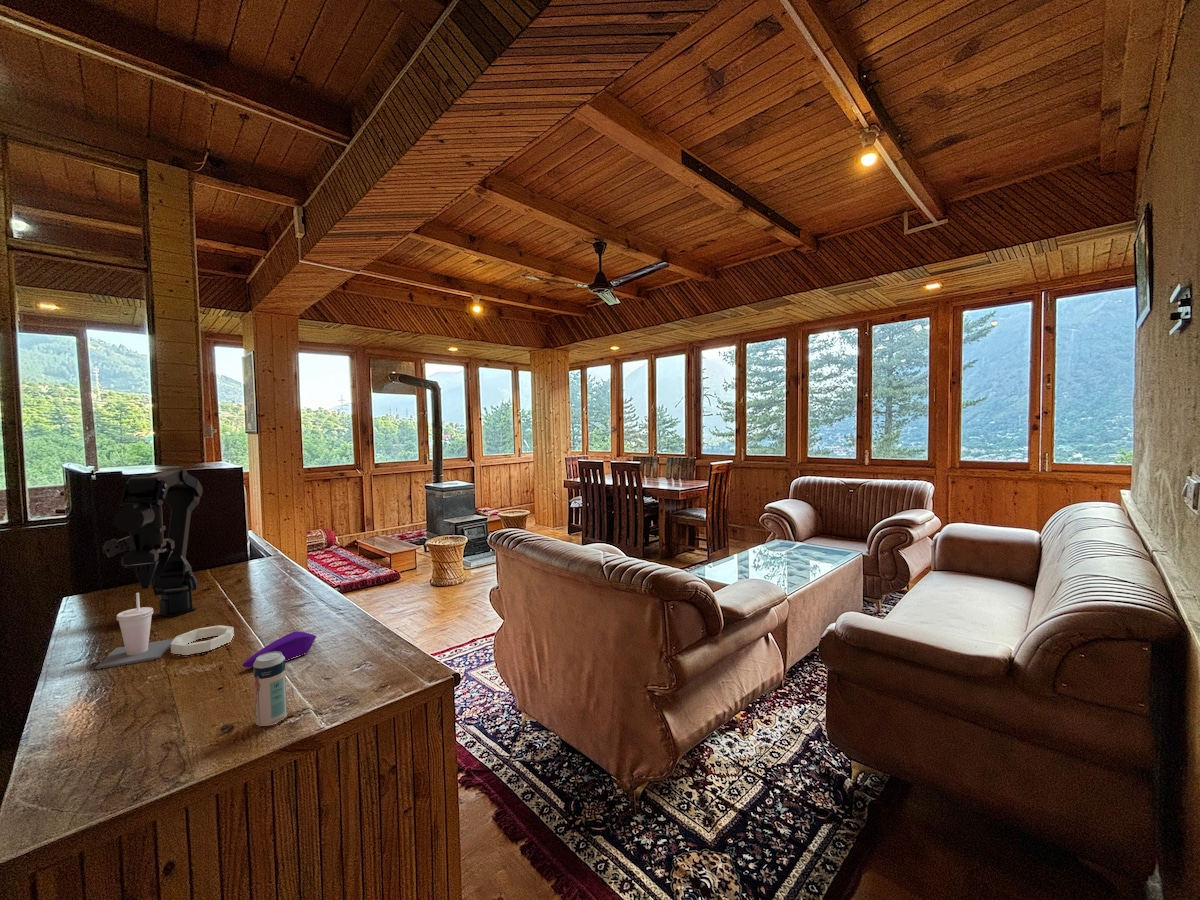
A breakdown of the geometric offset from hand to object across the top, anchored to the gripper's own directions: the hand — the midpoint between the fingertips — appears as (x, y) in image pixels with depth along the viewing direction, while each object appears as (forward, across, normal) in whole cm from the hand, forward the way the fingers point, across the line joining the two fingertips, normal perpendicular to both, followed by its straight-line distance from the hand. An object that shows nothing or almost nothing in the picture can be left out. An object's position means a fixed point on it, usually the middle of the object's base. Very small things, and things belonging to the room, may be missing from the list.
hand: (151, 583), depth 129 cm
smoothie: (+13, +15, +1) cm, 19 cm away
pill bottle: (+14, +63, +32) cm, 72 cm away
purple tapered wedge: (+14, +35, +31) cm, 49 cm away
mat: (+13, +15, +1) cm, 20 cm away
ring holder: (+13, +16, +13) cm, 25 cm away
